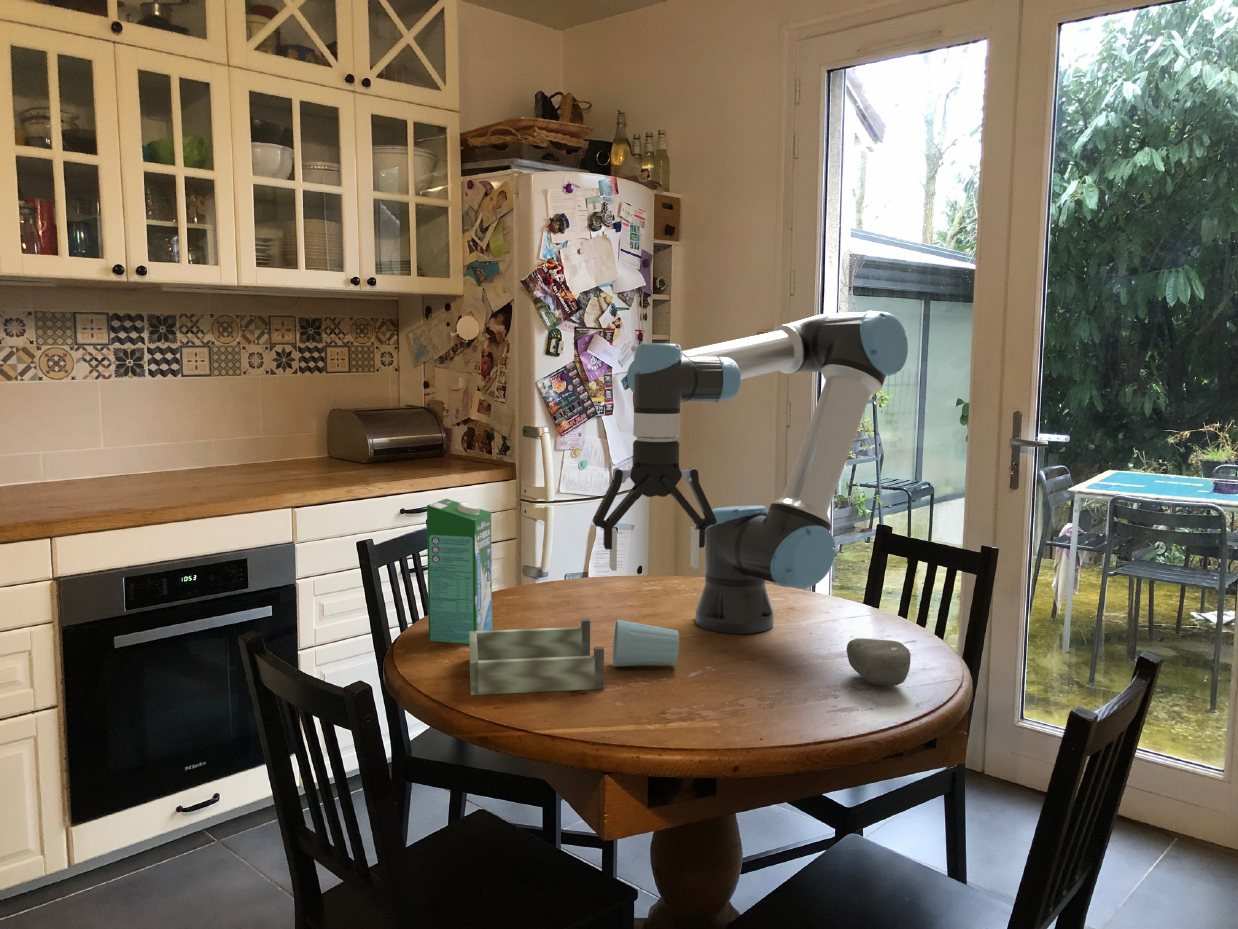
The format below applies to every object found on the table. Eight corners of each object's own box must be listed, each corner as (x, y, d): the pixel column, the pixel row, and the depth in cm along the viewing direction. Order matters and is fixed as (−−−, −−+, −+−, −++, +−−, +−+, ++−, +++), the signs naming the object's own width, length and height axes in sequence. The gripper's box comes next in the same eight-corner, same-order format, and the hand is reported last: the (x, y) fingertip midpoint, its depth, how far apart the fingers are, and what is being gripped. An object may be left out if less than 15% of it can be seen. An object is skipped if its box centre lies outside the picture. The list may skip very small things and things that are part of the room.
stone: (897, 660, 162) (906, 620, 156) (907, 704, 155) (917, 664, 149) (842, 660, 163) (849, 620, 156) (850, 704, 156) (857, 663, 150)
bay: (588, 654, 169) (589, 618, 168) (603, 689, 152) (604, 649, 151) (469, 659, 165) (469, 623, 165) (470, 695, 148) (470, 654, 148)
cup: (678, 670, 158) (615, 666, 157) (672, 670, 165) (611, 666, 165) (681, 623, 159) (618, 618, 159) (675, 625, 167) (615, 621, 166)
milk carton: (475, 645, 174) (474, 507, 171) (428, 641, 176) (426, 504, 173) (492, 631, 183) (491, 499, 180) (446, 628, 184) (445, 497, 182)
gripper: (724, 437, 163) (721, 561, 165) (576, 437, 159) (575, 564, 161) (737, 441, 156) (733, 571, 158) (582, 441, 152) (581, 574, 154)
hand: (653, 568), depth 160 cm, fingers open, 13 cm apart
